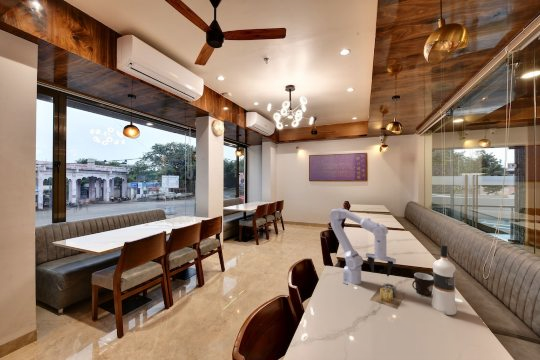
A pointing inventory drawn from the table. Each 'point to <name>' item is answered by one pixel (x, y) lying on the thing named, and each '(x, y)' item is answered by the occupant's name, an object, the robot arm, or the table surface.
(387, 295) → the brass gear
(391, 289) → the steel gear
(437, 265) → the vodka
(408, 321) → the table surface
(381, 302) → the board
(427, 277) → the coffee mug
